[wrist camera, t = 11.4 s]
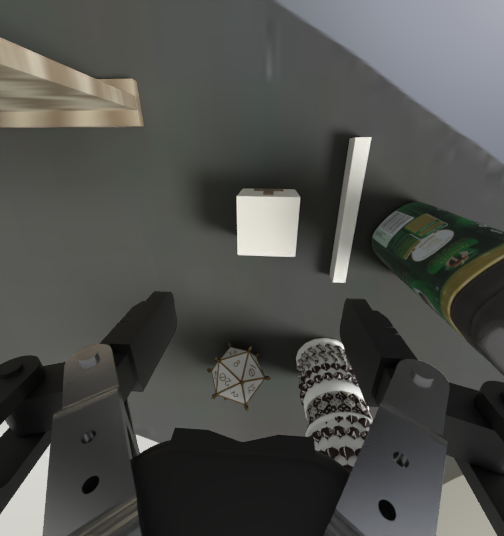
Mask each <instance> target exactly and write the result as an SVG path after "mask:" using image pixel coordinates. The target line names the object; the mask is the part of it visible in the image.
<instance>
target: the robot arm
mask: <svg viewBox="0 0 504 536" xmlns="http://www.w3.org/2000/svg"><path fill="white" fill-rule="evenodd" d="M176 326H177V318H176V311H175V305H174V299H173V294H172V293H171V292H160V291H155V292H153V293H152V294H151V295H150V297H149V298H148V299H147V300H146V301H142V302H141V303H139V304H137V305H136V306H134V307H132V308H131V310H130V311H129V312H128V313H127V314H126V316H124V317H123V318H122V319H121V321H120V323H118V324H117V325H116V326H115V327H114V328H113V329H112V331H111V332H110V333H109V334H108V335H107V336H106V337H105V338H104V339H103V340H102V342H101V343H100V344H94V345H90V346H87V347H84V348H82V349H80V350H78V351H77V352H75V353H74V354H72V355H71V356H70V357H69V358H68V359H67V361H66V362H63V363H58V364H52V365H47V366H42V364H41V362H40V360H39V358H38V357H36V356H31V355H29V356H21V357H17V358H14V359H11V360H9V361H7V362H5V363H3V364H1V365H0V425H1V424H2V422H3V421H4V420H5V421H6V422H7V424H8V425H9V429H8V430H7V431H6V432H5V433H4V434H3V435H2V436H1V437H0V514H1V512H2V511H3V509H4V508H5V507H6V505H7V504H8V502H9V501H10V499H11V498H12V497H13V495H14V494H15V492H16V491H17V490H18V488H19V487H20V485H21V484H22V483H23V481H24V480H25V478H26V477H27V475H28V474H29V473H30V471H31V470H32V468H33V467H34V466H35V464H36V463H37V461H38V460H39V458H40V457H41V456H42V454H43V453H44V451H45V450H46V449H47V447H48V446H49V444H50V443H51V444H50V456H49V467H48V480H47V491H46V503H45V514H44V526H43V536H436V530H437V521H438V514H439V505H440V499H441V491H442V483H443V476H444V468H445V460H446V455H449V456H451V457H454V458H455V460H456V462H457V464H458V466H459V467H460V469H461V471H462V473H463V475H464V476H465V478H466V480H467V482H468V484H469V485H470V487H471V489H472V491H473V493H474V494H475V496H476V498H477V500H478V502H479V503H480V505H481V507H482V509H483V511H484V512H485V514H486V516H487V518H488V520H489V521H490V523H491V525H492V527H493V529H494V530H495V532H496V534H497V536H504V383H503V382H498V381H487V382H485V383H483V385H482V386H481V388H480V390H479V391H477V390H474V389H470V388H467V387H463V386H460V385H456V384H453V383H450V382H448V380H447V378H446V377H445V376H444V375H443V374H442V373H441V372H440V371H439V370H438V369H436V368H435V367H433V366H432V365H430V364H428V363H425V362H423V361H420V360H418V359H417V358H416V357H415V355H414V354H413V353H412V351H411V350H410V348H409V347H408V346H407V344H406V343H405V342H404V340H403V339H402V337H401V336H400V335H399V333H398V332H397V331H396V329H395V328H394V326H393V325H392V324H391V322H390V321H389V320H388V318H387V317H385V316H384V315H383V314H381V313H380V312H378V311H373V310H372V309H371V307H370V306H369V304H368V303H367V301H366V300H365V299H346V300H345V303H344V309H343V314H342V319H341V324H340V337H341V341H342V344H343V346H344V349H345V352H346V354H347V357H348V359H349V362H350V364H351V367H352V370H353V372H354V375H355V377H356V380H357V382H358V385H359V388H360V390H361V393H362V395H363V398H364V401H365V403H366V406H369V407H378V410H377V412H376V414H375V417H374V419H373V422H372V424H371V426H370V429H369V431H368V433H367V436H366V438H365V440H364V443H363V445H362V448H361V450H360V452H359V455H358V457H357V459H356V462H355V464H354V467H353V469H352V471H351V473H350V472H349V471H348V470H347V469H346V468H345V467H344V466H342V465H341V464H340V463H339V462H337V461H336V460H334V459H332V458H331V457H329V456H327V455H325V454H323V453H321V452H319V451H316V450H315V446H314V439H313V437H301V436H287V435H276V436H271V437H266V438H261V439H257V440H252V441H247V442H239V441H236V440H234V439H231V438H228V437H226V436H223V435H220V434H218V433H215V432H212V431H209V430H200V429H186V428H175V430H174V433H173V435H172V438H171V440H169V441H165V442H162V443H159V444H157V445H155V446H153V447H150V448H149V449H147V450H145V451H143V452H142V453H140V452H139V448H138V444H137V440H136V435H135V431H134V426H133V421H132V417H131V412H130V408H129V403H128V400H127V398H128V396H129V394H130V392H131V391H137V392H143V390H144V389H145V387H146V385H147V383H148V381H149V379H150V377H151V375H152V374H153V372H154V370H155V368H156V366H157V364H158V362H159V361H160V359H161V357H162V355H163V353H164V351H165V349H166V348H167V346H168V344H169V342H170V340H171V338H172V336H173V335H174V333H175V330H176Z"/></svg>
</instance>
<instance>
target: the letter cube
mask: <svg viewBox="0 0 504 536" xmlns="http://www.w3.org/2000/svg"><path fill="white" fill-rule="evenodd" d="M299 208H300V196H299V195H298V193H297V192H296V190H295V189H268V188H254V189H245V188H243V189H242V190H241V191H240V193H239V194H238V195H237V248H238V255H252V256H282V257H295V253H296V242H297V231H298V219H299Z"/></svg>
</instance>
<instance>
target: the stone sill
mask: <svg viewBox="0 0 504 536" xmlns="http://www.w3.org/2000/svg"><path fill="white" fill-rule="evenodd" d="M370 142H371V137H354V138H350V139H349V146H348V153H347V159H346V166H345V173H344V180H343V186H342V193H341V200H340V207H339V213H338V220H337V227H336V234H335V240H334V247H333V254H332V261H331V268H330V274H329V275H330V277H331V280H332V282H339V283H345V281H346V275H347V270H348V264H349V258H350V253H351V247H352V242H353V236H354V231H355V225H356V220H357V214H358V209H359V203H360V198H361V192H362V187H363V181H364V176H365V170H366V165H367V159H368V154H369V148H370Z"/></svg>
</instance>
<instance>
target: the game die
mask: <svg viewBox="0 0 504 536" xmlns="http://www.w3.org/2000/svg"><path fill="white" fill-rule="evenodd" d="M228 346H229V348H228V350H227V351H226V352H225V353H224V354H223V356H222V357H221V358H220V359H219V358H218V357H215V361H217V363H216V365H215V366H214V367H213V369H207V371H208V372H212V376H213V381H214V387H215V392H216V393H215V394H213V395H212V398H211V399H215V397H216V396H217V395H218V396H221V397H224V399H225V400H226V399H229V400H232V401H235V402H238V403H241V404H244V405H245V407H244V408H245V410H246V411H247V412H248V406H247V403H248V402H249V400H250V399H251V397H252V396H253V395H254V393H255V392H256V390H257V389H258V388H259V386H260V385H261V383H262V382H263V381H264V379H266V380H269V379H271V378H270V377H269V376H264V373H263V371H262V369H261V367H260V364H259V362H258V360H257V357H258V356H259V353H257V354H256V355H253V354H252V353H251V352H250V351H251V350H252V348H251V347H248V351H247V350H243V349H238V348H234V347H231V343H230V342H228Z"/></svg>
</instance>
